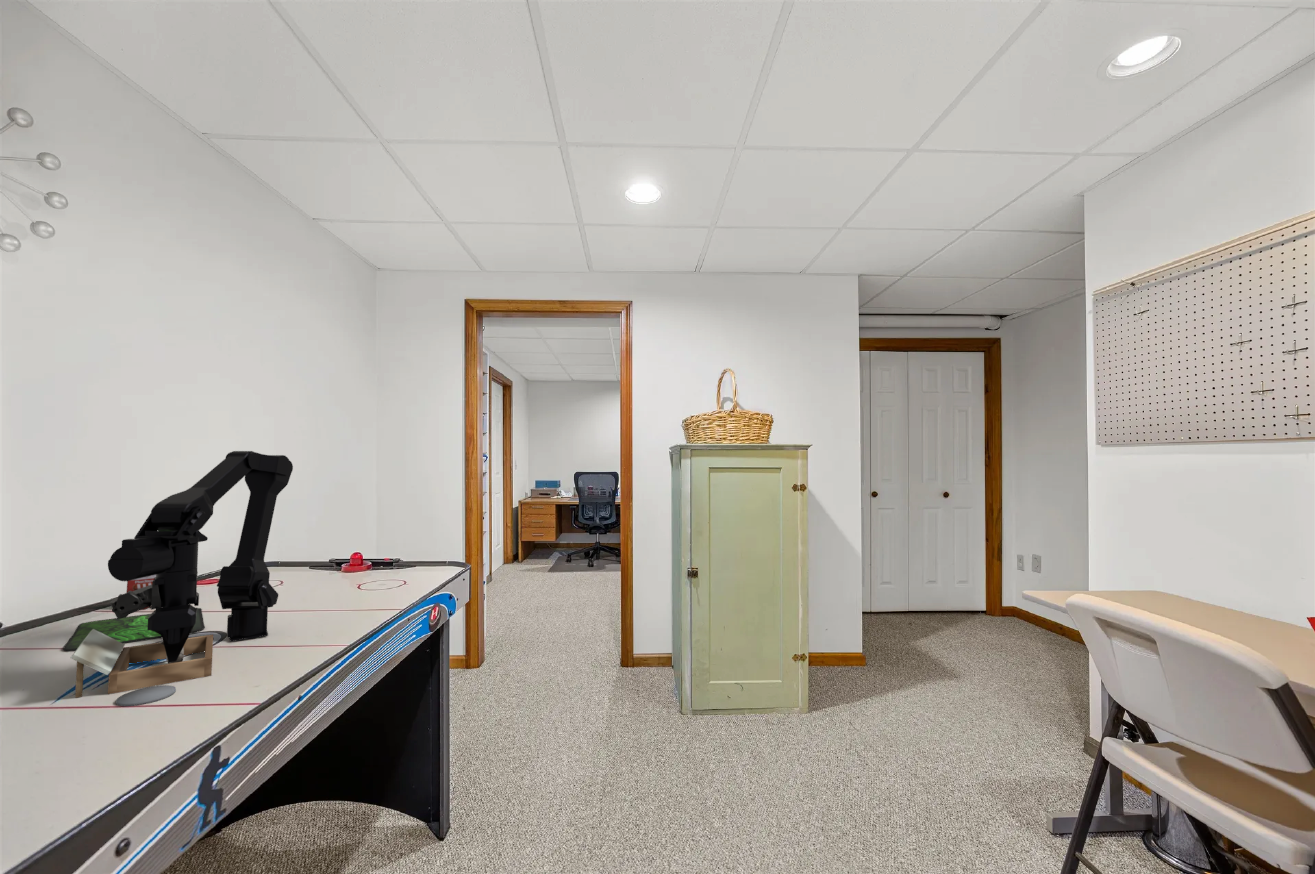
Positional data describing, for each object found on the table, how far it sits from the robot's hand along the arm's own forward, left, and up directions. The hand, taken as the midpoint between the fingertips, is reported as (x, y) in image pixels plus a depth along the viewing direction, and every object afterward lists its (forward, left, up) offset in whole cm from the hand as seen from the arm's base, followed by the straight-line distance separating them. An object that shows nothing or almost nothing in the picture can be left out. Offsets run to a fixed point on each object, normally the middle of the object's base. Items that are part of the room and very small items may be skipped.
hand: (173, 656), depth 101 cm
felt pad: (+3, +14, -2) cm, 14 cm away
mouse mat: (+8, -38, -3) cm, 39 cm away
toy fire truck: (+7, -61, -2) cm, 61 cm away
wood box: (+3, 0, -2) cm, 4 cm away
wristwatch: (0, 0, -1) cm, 1 cm away
